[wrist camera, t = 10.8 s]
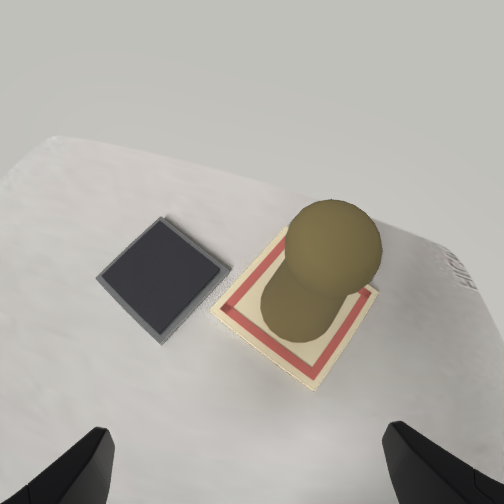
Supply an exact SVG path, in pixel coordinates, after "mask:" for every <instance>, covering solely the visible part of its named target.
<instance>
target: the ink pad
mask: <svg viewBox="0 0 504 504" xmlns="http://www.w3.org/2000/svg"><path fill="white" fill-rule="evenodd" d="M228 274H229V269H227V268H226V267H225V266H224V265H222V264H221V263H220V262H218V261H217V260H216V259H215V258H213V257H212V256H211V255H209V254H208V253H207V252H206V251H204V250H203V249H202V248H200V247H199V246H198V245H197V244H195V243H194V242H193V241H192V240H190V239H189V238H188V237H186V236H185V235H184V234H183V233H181V232H180V231H179V230H178V229H176V228H175V227H174V226H173V225H171V224H170V223H169V222H168V221H166V220H165V219H164V218H163V217H160V218H158V219H157V220H156V221H155V222H154V223H153V224H152V225H151V226H150V227H148V228H147V229H146V230H145V231H144V232H143V233H142V234H141V235H140V236H139V237H138V238H137V239H135V240H134V241H133V242H132V243H131V244H130V245H129V246H128V247H127V248H126V249H125V250H124V251H123V252H122V253H121V254H120V255H118V256H117V257H116V258H115V259H114V260H113V261H112V262H111V263H110V264H109V265H108V266H107V267H106V268H105V269H104V270H103V271H102V272H101V273H100V274H99V275H98V276H97V277H96V280H97V281H98V282H99V283H100V284H101V285H102V286H103V287H104V288H105V289H106V290H107V292H108V293H109V294H110V295H111V296H112V297H113V298H114V299H115V300H116V301H117V302H118V303H119V304H120V305H121V306H122V307H123V308H124V309H125V310H126V311H127V312H128V313H129V314H130V315H131V316H132V317H133V318H134V319H135V320H136V321H137V322H138V323H139V324H140V325H141V326H142V327H143V328H144V329H145V330H146V331H147V332H148V333H149V334H150V335H151V336H152V337H153V338H154V339H155V340H156V341H157V342H158V343H159V344H160V345H162V344H163V343H164V342H165V341H166V340H167V339H168V338H169V337H170V336H171V335H172V334H173V333H174V331H175V330H176V329H177V328H178V327H179V326H180V325H181V324H182V323H183V322H184V321H185V320H186V319H187V318H188V316H189V315H190V314H191V313H192V312H193V311H194V310H195V309H196V308H197V307H198V306H199V305H200V304H201V303H202V301H203V300H204V299H205V298H206V297H207V296H208V295H209V294H210V293H211V292H212V291H213V290H214V289H215V288H216V286H217V285H218V284H219V283H220V282H221V281H222V280H223V279H224V278H225V277H226V276H227V275H228Z"/></svg>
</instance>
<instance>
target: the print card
mask: <svg viewBox="0 0 504 504" xmlns="http://www.w3.org/2000/svg"><path fill="white" fill-rule="evenodd" d="M288 228H289V227H287V226H285V227H284V229H283V230H282V231H281V232H280V233H279V234H278V235H277V236H276V237H275V238H274V240H273V241H272V242H271V243H270V244H269V245H268V246H267V247H266V248H265V250H264V251H263V252H262V253H261V254H260V255H259V256H258V257H257V258H256V259H255V261H254V262H253V263H252V264H251V265H250V266H249V267H248V268H247V269H246V270H245V272H244V273H243V274H242V275H241V276H240V277H239V278H238V279H237V280H236V281H235V282H234V284H233V285H232V286H231V287H230V288H229V289H228V290H227V291H226V292H225V293H224V295H223V296H222V297H221V298H220V299H219V300H218V301H217V302H216V303H215V304H214V305H213V307H212V308H211V309H210V312H211V313H212V314H213V315H214V316H216V317H217V318H218V319H219V320H220V321H222V322H223V323H224V324H225V325H227V326H228V327H229V328H230V329H232V330H233V331H234V332H235V333H237V334H238V335H239V336H240V337H242V338H243V339H244V340H245V341H247V342H248V343H249V344H251V345H252V346H253V347H254V348H256V349H257V350H258V351H260V352H261V353H262V354H264V355H265V356H266V357H267V358H269V359H270V360H271V361H273V362H274V363H275V364H277V365H278V366H279V367H281V368H282V369H283V370H285V371H286V372H287V373H289V374H290V375H292V376H293V377H294V378H296V379H297V380H298V381H300V382H301V383H303V384H304V385H305V386H307V387H308V388H309V389H311V390H312V391H315V390H316V389H317V387H318V386H319V385H320V383H321V382H322V380H323V379H324V378H325V376H326V375H327V373H328V372H329V370H330V369H331V368H332V366H333V365H334V363H335V362H336V360H337V359H338V357H339V356H340V354H341V353H342V351H343V350H344V348H345V347H346V345H347V344H348V342H349V341H350V339H351V338H352V336H353V334H354V333H355V331H356V330H357V328H358V326H359V325H360V323H361V322H362V320H363V318H364V317H365V315H366V313H367V312H368V310H369V309H370V307H371V305H372V303H373V302H374V300H375V298H376V297H377V295H378V293H379V292H378V291H377V290H375V289H374V288H373V287H371V286H370V285H368V284H367V285H366V286H365V287H363V288H362V289H361V290H359V291H358V292H357V293H354V294H351V295H348V296H347V298H346V299H345V301H344V303H343V305H342V307H341V308H340V310H339V312H338V314H337V316H336V317H335V319H334V321H333V323H332V324H331V326H330V327H329V329H328V330H327V331H326V333H324V334H323V335H322V336H320V337H319V338H317V339H316V340H313V341H309V342H306V343H292V342H290V341H287V340H284V339H281V338H280V337H278V336H277V335H276V334H274V333H273V332H272V331H271V330H270V329H269V328H268V326H267V325H266V323H265V322H264V320H263V317H262V313H261V310H260V302H261V295H262V293H263V290H264V288H265V286H266V285H267V283H268V282H269V280H270V279H271V278H272V276H273V275H274V273H275V272H276V270H277V269H278V267H279V266H280V265H281V263H282V262H283V260H284V259H285V237H286V234H287V231H288Z"/></svg>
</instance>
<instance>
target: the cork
mask: <svg viewBox="0 0 504 504" xmlns="http://www.w3.org/2000/svg"><path fill="white" fill-rule="evenodd" d="M382 251H383V250H382V244H381V238H380V234H379V232H378V229H377V227H376V225H375V224H374V222H373V221H372V220H371V218H370V217H369V216H368V215H367V214H366V213H365V212H364V211H362V210H361V209H359V208H358V207H356V206H355V205H353V204H350V203H347V202H345V201H340V200H332V199H330V200H324V201H318V202H315V203H313V204H311V205H309V206H307V207H305V208H303V209H302V210H301V211H300V213H299V214H298V215H297V216H296V217H295V218H294V219H293V220H292V222H291V223H290V226H289V228H288V231H287V234H286V237H285V259H284V260H283V262H282V263H281V265H280V266H279V267H278V269H277V270H276V272H275V273H274V275H273V276H272V278H271V279H270V280H269V282H268V283H267V285H266V286H265V288H264V290H263V293H262V295H261V302H260V310H261V313H262V317H263V320H264V322H265V323H266V325H267V326H268V328H269V329H270V330H271V331H272V332H273V333H274V334H276V335H277V336H278V337H280V338H281V339H284V340H287V341H290V342H292V343H306V342H309V341H313V340H316V339H317V338H319V337H320V336H322V335H323V334H324V333H326V331H327V330H328V329H329V327H330V326H331V324H332V323H333V321H334V319H335V317H336V316H337V314H338V312H339V310H340V308H341V307H342V305H343V303H344V301H345V299H346V298H347V296H348V295H351V294H354V293H357V292H358V291H359V290H361V289H362V288H363V287H365V286H366V285H367V284H368V283H369V282H370V281H371V280H372V279H373V277H374V275H375V274H376V272H377V270H378V269H379V266H380V263H381V257H382Z"/></svg>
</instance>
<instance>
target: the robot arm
mask: <svg viewBox="0 0 504 504" xmlns="http://www.w3.org/2000/svg"><path fill="white" fill-rule="evenodd" d="M382 445H383V449H384V453H385V457H386V462H387V466H388V470H389V474H390V478H391V481H392V484H393V487H394V490H395V493H396V495H397V498H398V501H399V504H504V484H502V483H500V482H498V481H496V480H494V479H491V478H490V477H488V476H486V475H484V474H483V473H481V472H479V471H478V470H476V469H473V467H471V466H470V465H468V464H466V463H465V462H463V461H462V460H460V459H458V458H457V457H455V456H454V455H452V454H451V453H449V452H448V451H446V450H444V449H443V448H441V447H440V446H438V445H437V444H435V443H434V442H432V441H431V440H429V439H428V438H426V437H425V436H423V435H422V434H420V433H419V432H417V431H416V430H414V429H413V428H411V427H410V426H408V425H407V424H406V423H404V422H402V421H395V422H391V423H390V424H389V425H388V427H387V429H386V431H385V433H384V435H383V438H382ZM114 452H115V445H114V442H113V439H112V437H111V435H110V432H109V430H108V429H107V428H102V427H95V428H93V429H92V430H91V431H90V432H89V433H87V434H86V435H85V436H84V437H83V438H82V439H81V440H79V441H78V442H77V443H76V444H75V445H73V446H72V447H71V448H70V449H69V450H68V451H66V452H65V453H64V454H63V455H62V456H60V457H59V458H58V459H57V460H56V461H55V462H53V463H52V464H51V465H50V466H49V467H47V468H46V469H45V470H44V471H43V472H41V473H40V474H39V475H38V476H37V477H35V478H34V479H33V480H32V481H30V482H29V483H28V485H25V486H24V487H23V488H22V489H21V490H19V491H18V492H17V493H15V494H14V495H13V496H11V497H10V498H8V499H7V500H5V501H4V502H2V503H1V504H106V501H107V497H108V493H109V488H110V482H111V474H112V466H113V459H114Z"/></svg>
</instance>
